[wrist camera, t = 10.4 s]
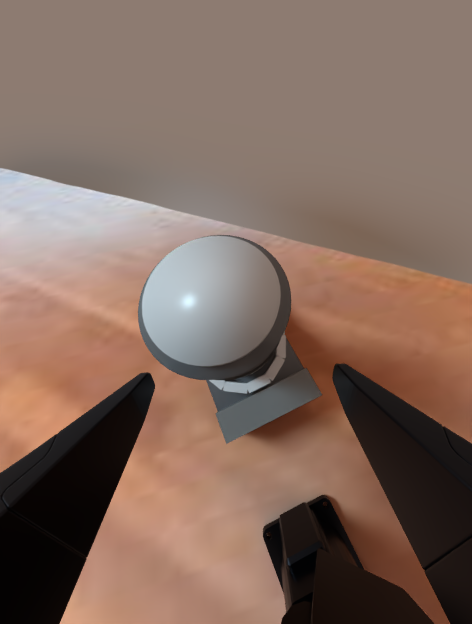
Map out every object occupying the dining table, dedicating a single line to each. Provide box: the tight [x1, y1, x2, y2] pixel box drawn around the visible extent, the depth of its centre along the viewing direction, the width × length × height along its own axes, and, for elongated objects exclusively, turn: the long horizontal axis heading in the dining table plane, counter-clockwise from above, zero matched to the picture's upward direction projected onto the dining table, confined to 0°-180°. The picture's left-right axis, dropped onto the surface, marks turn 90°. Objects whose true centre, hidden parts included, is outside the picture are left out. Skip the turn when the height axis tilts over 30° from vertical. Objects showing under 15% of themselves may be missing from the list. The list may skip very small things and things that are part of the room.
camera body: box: [206, 332, 322, 444], centre depth 19 cm, size 12×9×4 cm
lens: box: [138, 235, 291, 380], centre depth 12 cm, size 6×6×13 cm
